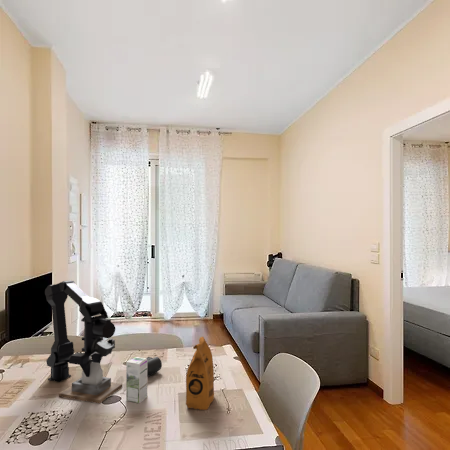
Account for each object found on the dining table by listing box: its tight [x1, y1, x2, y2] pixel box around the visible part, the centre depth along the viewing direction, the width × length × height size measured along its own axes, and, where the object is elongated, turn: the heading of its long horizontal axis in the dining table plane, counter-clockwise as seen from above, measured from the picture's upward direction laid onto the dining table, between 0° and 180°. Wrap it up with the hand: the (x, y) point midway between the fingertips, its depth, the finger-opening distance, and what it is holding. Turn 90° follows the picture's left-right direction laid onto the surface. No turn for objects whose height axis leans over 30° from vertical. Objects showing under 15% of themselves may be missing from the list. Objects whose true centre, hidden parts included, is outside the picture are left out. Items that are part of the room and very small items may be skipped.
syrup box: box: [125, 356, 148, 404], centre depth 127 cm, size 6×6×14 cm
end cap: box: [146, 356, 163, 378], centre depth 148 cm, size 10×7×7 cm
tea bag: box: [81, 362, 104, 385], centre depth 133 cm, size 4×7×10 cm, turn 73°
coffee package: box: [185, 336, 215, 411], centre depth 125 cm, size 10×12×22 cm
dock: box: [58, 376, 123, 404], centre depth 133 cm, size 18×14×4 cm
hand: (91, 374), depth 133 cm, fingers open, 4 cm apart
